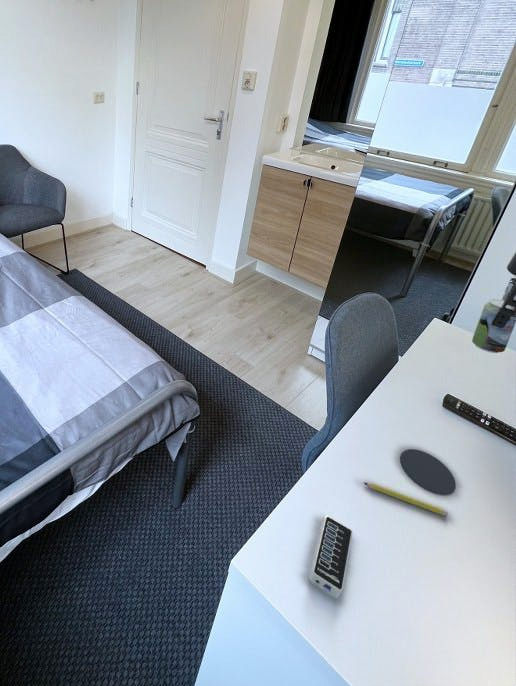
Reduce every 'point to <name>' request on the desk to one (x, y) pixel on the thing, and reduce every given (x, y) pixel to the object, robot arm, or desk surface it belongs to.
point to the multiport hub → (331, 557)
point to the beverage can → (493, 329)
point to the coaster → (427, 471)
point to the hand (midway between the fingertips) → (498, 319)
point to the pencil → (407, 499)
